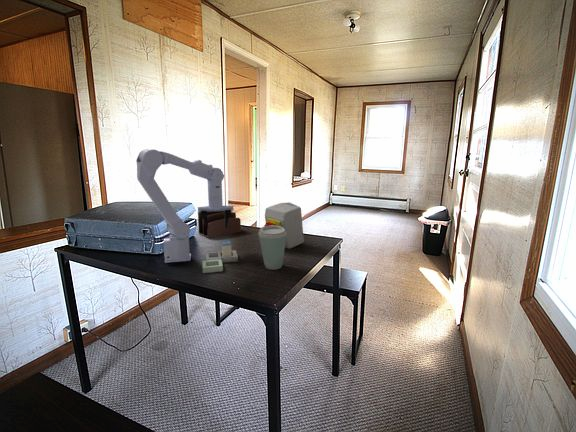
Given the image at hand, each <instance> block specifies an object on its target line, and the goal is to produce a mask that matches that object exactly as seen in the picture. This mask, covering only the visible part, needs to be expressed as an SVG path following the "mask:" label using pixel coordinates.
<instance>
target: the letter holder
mask: <svg viewBox="0 0 576 432" xmlns="http://www.w3.org/2000/svg"><path fill="white" fill-rule="evenodd" d="M220 210H221V209H220ZM197 222H198V234H200V235H199V236H201V235H202V236H201V237H203V236H204V238H205V237H206V238H205V239H208V238H209V239H213V238H218V237H222V236H228V235H233V234H236V233H237V234H238V233H241V232H242V225H241V224H242V223H241V218H240V217H237V214H236V212H234V211H231V214H230V217H229V219H228V222H227V228H225V213H224V211H210V212H207V222H208V229H207V228H206V224H205V221H204V219H203V217H202V215H201V212H198V211H197Z"/></svg>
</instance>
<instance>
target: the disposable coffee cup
mask: <svg viewBox="0 0 576 432" xmlns="http://www.w3.org/2000/svg"><path fill="white" fill-rule="evenodd" d="M257 233H258V234H257V236H259V242H260V247H261V254H262V259H263V263H264V267H265V268H266V269H268V270H278V269H281V268H282V266H283V264H284V256H285V249H286V248H285V242H286V235H287V232H286V231H285V229H284V228H283V227H280V226H275V225H271V226H264V225H263V226H262V227H261V228H259V231H258V232H257Z"/></svg>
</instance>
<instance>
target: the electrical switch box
mask: <svg viewBox="0 0 576 432" xmlns="http://www.w3.org/2000/svg"><path fill="white" fill-rule="evenodd" d="M264 221H265V224H264V225H263V227H264V226H271V225H275V226H280V227H283V228H284V229H285V231H286V232H287V235H286V242H285V249H289V250H290V249H292V248H295V247H297V246H299V245H301V244H303V243H305V238H304V227H303V215H302V208H301V207H300V206H298V205H296V204H294V203H292V202H279V203H277V204H274V205H270V206H268V207H266V208H265V210H264Z"/></svg>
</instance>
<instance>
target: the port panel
mask: <svg viewBox="0 0 576 432" xmlns="http://www.w3.org/2000/svg"><path fill="white" fill-rule="evenodd" d="M231 254H232V256H222V250H221V251H211V252H205V259H206V260H205V261H208V260H219V259H221V260H222V264H223V263H224V264H225V263H233V262H235V263H236V262H239V256H238V253H237V250H236V249H235V250H234V249H233V250H232V249H231Z"/></svg>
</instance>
